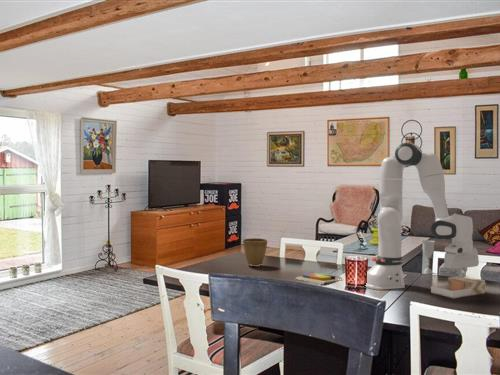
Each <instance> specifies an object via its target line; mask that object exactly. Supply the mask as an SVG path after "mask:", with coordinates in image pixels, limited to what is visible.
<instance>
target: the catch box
mask: <svg viewBox="0 0 500 375" xmlns="http://www.w3.org/2000/svg"><path fill="white" fill-rule="evenodd" d="M430 293H431V294H434V295H438V296H442V297H444V298H445V297H446V298H450V299H453V300H454V299H459V298H463V297H464V298H465V297H471V296H472V295H471V289H463V290H457V291H451V290H450V284H448V283H446V284H445V283H444V284H439V285H438V284H437V285H431V286H430Z"/></svg>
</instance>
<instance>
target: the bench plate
mask: <svg viewBox="0 0 500 375" xmlns="http://www.w3.org/2000/svg"><path fill="white" fill-rule="evenodd" d="M452 280H457V281H461V282H464V289H471V296H476V295H481V294H485V293H486V292H485V291H486V288H485V287H486V280H485V279H480V278H476V277H471V276H468V275H465V277H462V278H459V277H458V275H456V276H450V277H448V282H447V284H450V290H451V281H452Z"/></svg>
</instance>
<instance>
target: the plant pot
mask: <svg viewBox="0 0 500 375" xmlns="http://www.w3.org/2000/svg"><path fill="white" fill-rule="evenodd" d="M242 246H243V251H244V254H245V258H246V261H247V264H252V265H259V264H262V265H263V262H264V258H265V255H266V250H267V246H268V239H266V238H255V237H252V238H244V239H242Z"/></svg>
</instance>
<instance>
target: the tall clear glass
mask: <svg viewBox="0 0 500 375" xmlns="http://www.w3.org/2000/svg"><path fill="white" fill-rule="evenodd" d="M435 242H436V240H429V239H426V240H425V239H424V240H421V243H422V251H423V254H424V257H425V258H426V268H424V270H423V274H429V275H430V274H431V275H433V271H432V268H430V258H431V257H432V256H433V254H434V251H435Z"/></svg>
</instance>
